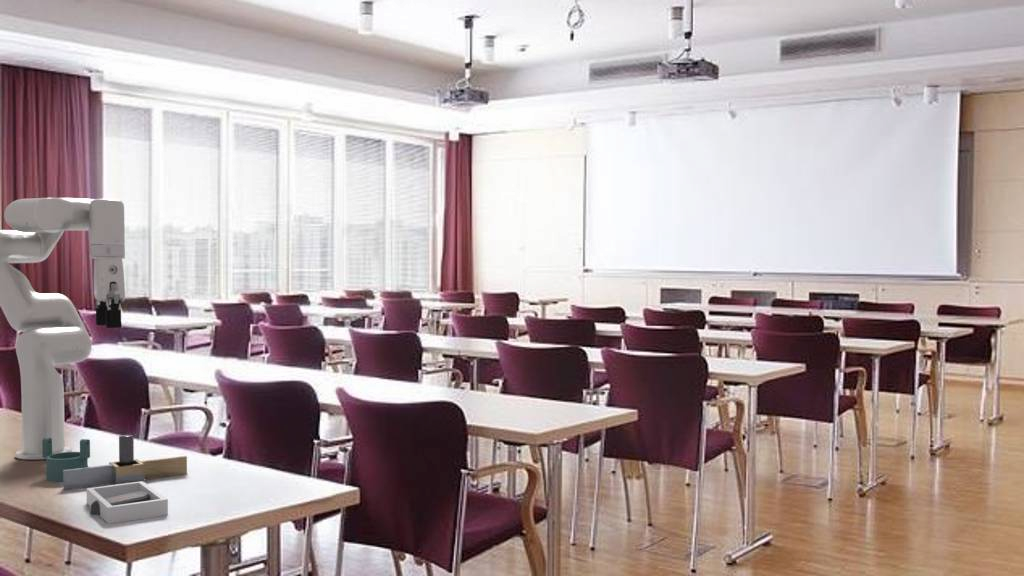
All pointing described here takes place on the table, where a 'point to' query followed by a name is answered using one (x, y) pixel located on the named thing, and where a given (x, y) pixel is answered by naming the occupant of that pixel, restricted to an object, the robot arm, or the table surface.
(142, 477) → the hinge
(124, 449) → the hinge pin
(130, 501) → the usb flash stick
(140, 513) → the parts tray frame
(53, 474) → the teal round tub
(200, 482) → the table surface
